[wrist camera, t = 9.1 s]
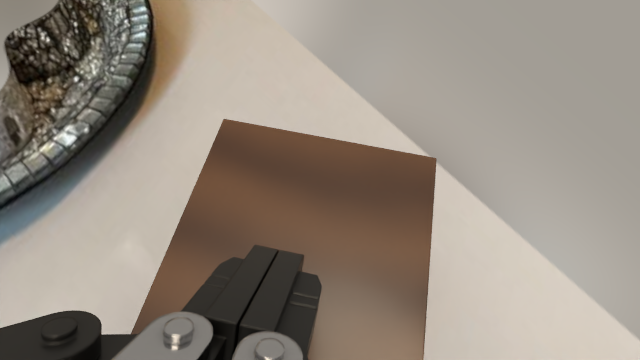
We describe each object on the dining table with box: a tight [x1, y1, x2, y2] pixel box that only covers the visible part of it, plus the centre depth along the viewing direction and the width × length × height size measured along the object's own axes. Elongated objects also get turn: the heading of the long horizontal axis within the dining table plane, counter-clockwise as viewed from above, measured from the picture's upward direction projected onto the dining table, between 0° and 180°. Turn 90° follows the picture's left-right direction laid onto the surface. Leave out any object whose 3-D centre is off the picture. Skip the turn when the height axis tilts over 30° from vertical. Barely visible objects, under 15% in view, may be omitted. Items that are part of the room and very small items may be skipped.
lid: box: [131, 119, 436, 360], centre depth 17 cm, size 14×12×1 cm
